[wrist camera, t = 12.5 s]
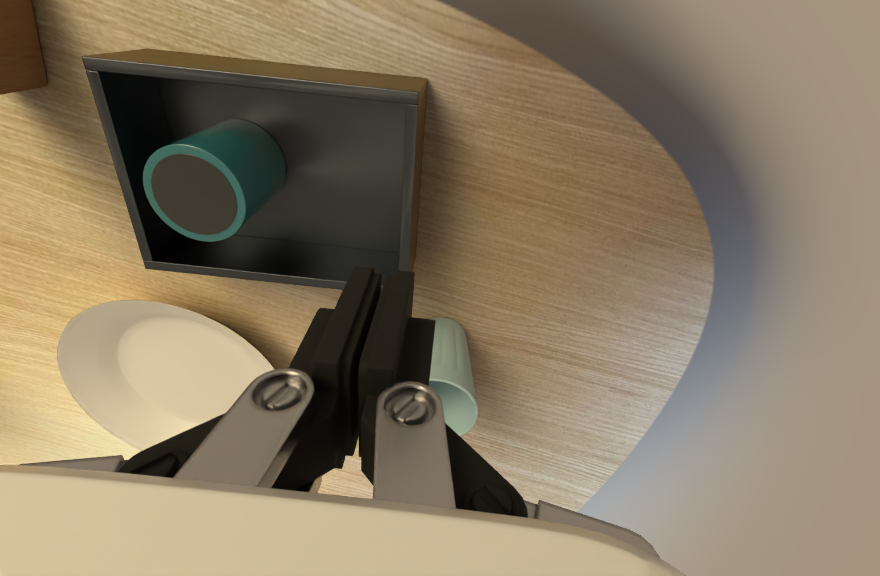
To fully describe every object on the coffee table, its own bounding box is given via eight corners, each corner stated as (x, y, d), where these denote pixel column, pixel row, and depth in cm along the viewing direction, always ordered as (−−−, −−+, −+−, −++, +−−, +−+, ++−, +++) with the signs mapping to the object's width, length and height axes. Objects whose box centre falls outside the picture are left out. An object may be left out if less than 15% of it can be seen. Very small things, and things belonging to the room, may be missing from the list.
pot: (211, 197, 39) (156, 236, 32) (195, 114, 36) (129, 139, 29) (290, 206, 39) (251, 247, 32) (282, 123, 36) (237, 150, 29)
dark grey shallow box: (146, 48, 34) (80, 56, 28) (427, 78, 34) (419, 92, 28) (189, 233, 42) (145, 268, 37) (415, 257, 42) (407, 296, 36)
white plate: (335, 350, 49) (326, 373, 46) (260, 467, 61) (249, 492, 58) (101, 237, 43) (73, 255, 40) (69, 392, 55) (45, 414, 52)
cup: (389, 338, 48) (371, 412, 39) (436, 294, 44) (428, 364, 35) (442, 375, 50) (436, 453, 41) (490, 336, 47) (496, 412, 38)
